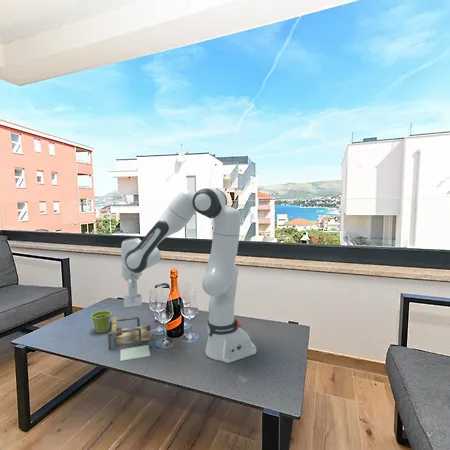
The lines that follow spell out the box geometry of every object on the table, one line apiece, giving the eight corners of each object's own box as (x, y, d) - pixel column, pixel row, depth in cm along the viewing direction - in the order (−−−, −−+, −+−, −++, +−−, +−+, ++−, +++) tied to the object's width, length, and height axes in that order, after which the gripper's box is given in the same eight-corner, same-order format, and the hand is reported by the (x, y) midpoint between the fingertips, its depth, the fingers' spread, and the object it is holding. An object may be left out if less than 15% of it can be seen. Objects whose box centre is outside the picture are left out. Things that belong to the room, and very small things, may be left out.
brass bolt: (117, 318, 143) (116, 314, 143) (116, 332, 129) (116, 327, 129) (112, 319, 142) (112, 314, 142) (111, 332, 128) (111, 327, 128)
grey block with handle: (141, 302, 140) (141, 292, 140) (141, 305, 137) (141, 295, 136) (124, 304, 138) (123, 294, 137) (124, 307, 134) (123, 297, 134)
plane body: (149, 329, 148) (149, 315, 148) (152, 342, 135) (151, 326, 134) (110, 335, 142) (109, 320, 141) (108, 349, 129) (107, 333, 128)
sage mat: (148, 346, 132) (148, 345, 132) (150, 356, 124) (150, 355, 124) (120, 350, 128) (120, 349, 128) (120, 361, 120) (120, 360, 120)
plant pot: (98, 326, 152) (97, 310, 152) (115, 326, 152) (114, 310, 151) (88, 334, 143) (87, 317, 142) (106, 335, 142) (105, 318, 141)
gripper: (140, 277, 127) (141, 307, 128) (137, 266, 146) (138, 293, 148) (124, 278, 125) (126, 309, 126) (124, 267, 144) (125, 294, 145)
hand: (132, 300), depth 137 cm, fingers closed on grey block with handle, 4 cm apart
